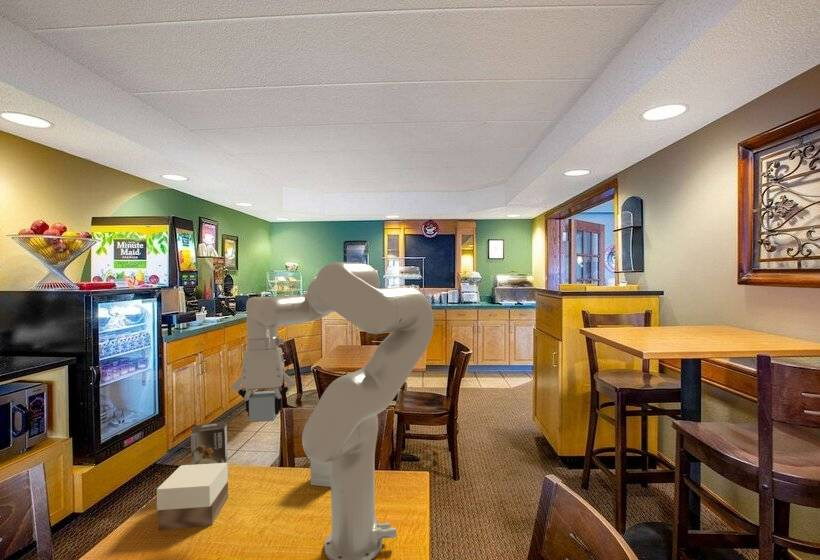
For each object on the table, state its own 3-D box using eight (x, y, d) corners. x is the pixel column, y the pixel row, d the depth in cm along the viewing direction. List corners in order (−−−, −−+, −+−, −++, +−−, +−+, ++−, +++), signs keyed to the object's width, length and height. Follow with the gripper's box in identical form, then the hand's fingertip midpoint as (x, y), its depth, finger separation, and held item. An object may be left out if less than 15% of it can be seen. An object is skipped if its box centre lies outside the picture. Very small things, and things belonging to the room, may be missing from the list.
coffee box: (229, 473, 120) (228, 420, 120) (226, 483, 114) (225, 428, 114) (195, 478, 117) (194, 424, 117) (191, 489, 111) (190, 432, 111)
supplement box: (334, 487, 111) (333, 443, 111) (309, 485, 113) (309, 441, 113) (343, 474, 118) (343, 433, 118) (320, 472, 120) (320, 431, 120)
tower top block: (227, 481, 107) (227, 462, 107) (209, 506, 95) (209, 485, 95) (181, 483, 105) (180, 465, 105) (157, 510, 93) (156, 489, 93)
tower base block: (228, 498, 107) (227, 480, 107) (212, 526, 95) (212, 505, 95) (180, 502, 105) (180, 484, 105) (158, 531, 93) (158, 510, 93)
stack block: (278, 412, 106) (278, 390, 106) (274, 420, 100) (273, 397, 100) (255, 414, 105) (254, 391, 105) (249, 422, 99) (248, 398, 99)
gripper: (299, 340, 107) (300, 406, 107) (232, 343, 105) (234, 411, 105) (294, 345, 100) (296, 416, 100) (222, 348, 97) (224, 421, 97)
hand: (264, 412), depth 102 cm, fingers closed on stack block, 6 cm apart
